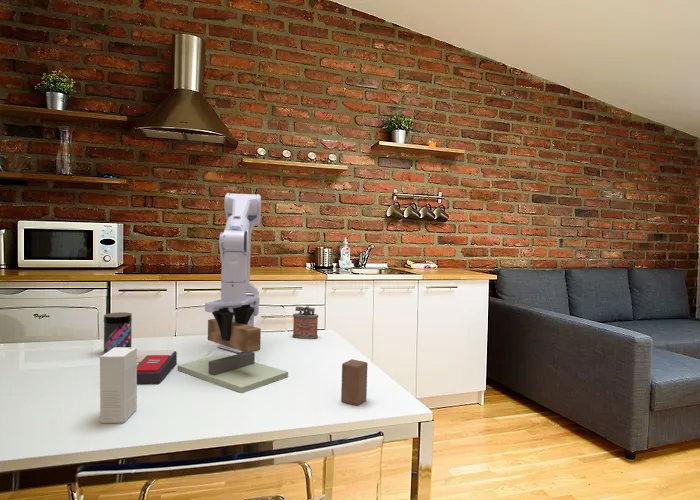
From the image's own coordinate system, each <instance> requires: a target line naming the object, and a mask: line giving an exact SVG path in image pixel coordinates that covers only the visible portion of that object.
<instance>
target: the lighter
mask: <svg viewBox="0 0 700 500" xmlns="http://www.w3.org/2000/svg"><path fill="white" fill-rule="evenodd" d="M315 309H316V308H315V307H310V306H307V305H306V306H305V307H303V306H296V307H295V312H296V311H297V312H298V313H293V314H292V318H293V328H292V329H293V330H292V333H293V334H292V338H293V339H299V340H318V337H319V336H318V325H319V324H318V323H319V321H318V319H319V314H318V313H317V314H316V313H315Z"/></svg>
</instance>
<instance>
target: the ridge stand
mask: <svg viewBox="0 0 700 500" xmlns="http://www.w3.org/2000/svg"><path fill="white" fill-rule="evenodd" d="M255 353H256V352H250V353H246V352H241V353H236V354H233V355H232V354H228V353H221V354H218V355H213V356H211V357H210V356H209V357H206V358H203V359H198V360H195V361H189V362H186V363H182V364H177V371H178V372H181V373H184V374H187V375H189V376H193V377H195V378H198V379H201V380H203V381H206V382H209V383H213V384H214V385H218V386H220V387H223V388H225V389H229V390H231V391H234V392H236V393H241V394H243V393H246V392H249V391H251V390H255V389H258V388H260V387H263V386H266V385H268V384H271V383H274V382H278V381H280V380H283V379H286V378H289V371H286V370H283V369H280V368H277V367H273V366H269V365H267V364H262V363H259V362H255V359H256V358H255V357H256V355H255Z"/></svg>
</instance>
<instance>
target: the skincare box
mask: <svg viewBox="0 0 700 500" xmlns="http://www.w3.org/2000/svg"><path fill="white" fill-rule="evenodd" d="M137 387H138V385H137V347H131V348H126V347H115V348H113V349H111V350H110V351H108V352H107V353H105V354H104V353H103V354H102V355H100V356H99V396H100V397H99V398H100V400H99V401H100V402H99V404H100V405H99V406H100V408H99V409H100V410H99V412H100V413H99V415H100V416H99V417H100V421H99V422H100V423H101V424H124V423H125V422H126V421H127V420H128V419H129V418H130V417H131V416H132V415H133V414H134V413H135V412H136V411H137V409H138V405H137V404H138V403H137V402H138V399H137V398H138V388H137Z"/></svg>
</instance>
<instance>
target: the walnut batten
mask: <svg viewBox="0 0 700 500" xmlns="http://www.w3.org/2000/svg"><path fill="white" fill-rule="evenodd" d="M261 330H262V329H261V327H257V326H254V327H253V326H249V325H245V324H241V323H238V322H234V321H232V324H231V336H230V341H225V340H222V337H221V333H220V329H219V326H218V323H217V321H216V319H215V318H212V319H211V318H210V319H208V320H207V341H209V342H213V343H215V344H218V345H220V344H222V345H225V346H228V347H231V348H234V349H237V350H240V351H243V352H242V353H244V352H246V353H250V352H254V353H256V352H257V351H258V352H259V351H261V338H262V337H261V335H262V333H261V332H262V331H261Z"/></svg>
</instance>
